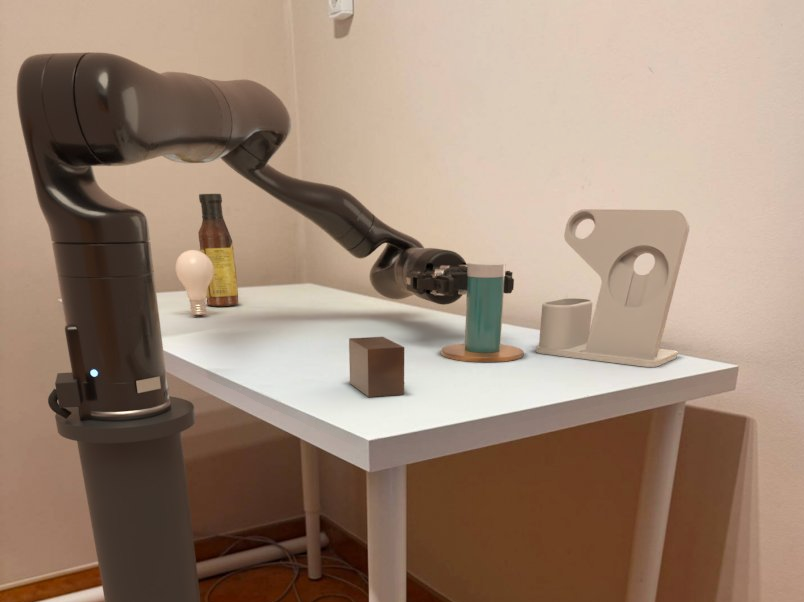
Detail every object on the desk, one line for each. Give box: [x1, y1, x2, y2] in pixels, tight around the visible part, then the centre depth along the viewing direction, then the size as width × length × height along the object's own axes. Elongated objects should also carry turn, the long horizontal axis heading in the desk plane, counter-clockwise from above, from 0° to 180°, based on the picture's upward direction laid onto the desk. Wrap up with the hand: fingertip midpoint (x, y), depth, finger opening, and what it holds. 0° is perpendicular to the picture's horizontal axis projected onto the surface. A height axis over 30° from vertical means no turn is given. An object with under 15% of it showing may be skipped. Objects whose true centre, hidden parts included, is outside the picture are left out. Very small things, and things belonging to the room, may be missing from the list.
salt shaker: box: [464, 261, 507, 353], centre depth 100 cm, size 5×11×11 cm
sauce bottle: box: [198, 193, 239, 307], centre depth 144 cm, size 6×6×20 cm
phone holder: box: [535, 208, 690, 368], centre depth 99 cm, size 17×10×18 cm, turn 53°
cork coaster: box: [440, 342, 524, 363], centre depth 102 cm, size 11×11×1 cm
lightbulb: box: [174, 249, 214, 318], centre depth 131 cm, size 6×6×11 cm
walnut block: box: [348, 336, 405, 398], centre depth 82 cm, size 4×7×5 cm, turn 20°
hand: (481, 286), depth 100 cm, fingers open, 8 cm apart
